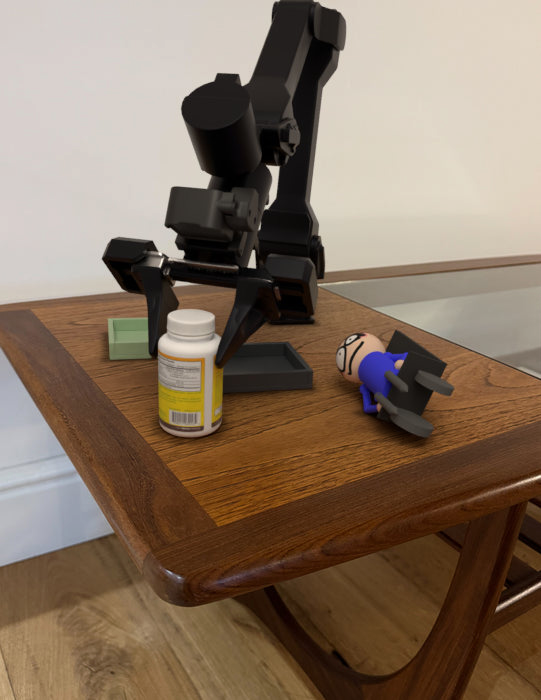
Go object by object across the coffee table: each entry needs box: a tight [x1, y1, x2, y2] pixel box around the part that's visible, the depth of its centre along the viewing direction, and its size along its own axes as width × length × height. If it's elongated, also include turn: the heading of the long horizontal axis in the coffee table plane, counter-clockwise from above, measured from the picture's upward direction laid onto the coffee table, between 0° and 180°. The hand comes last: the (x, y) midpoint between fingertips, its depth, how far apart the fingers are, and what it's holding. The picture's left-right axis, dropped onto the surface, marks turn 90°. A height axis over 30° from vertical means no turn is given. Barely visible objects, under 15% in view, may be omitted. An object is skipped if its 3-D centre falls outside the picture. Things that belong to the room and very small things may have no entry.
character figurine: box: [335, 329, 455, 438], centre depth 58 cm, size 8×7×15 cm
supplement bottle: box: [157, 308, 224, 438], centre depth 53 cm, size 6×6×10 cm
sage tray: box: [107, 316, 158, 361], centre depth 74 cm, size 11×9×2 cm
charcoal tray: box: [222, 341, 314, 394], centre depth 66 cm, size 11×9×2 cm
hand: (184, 361), depth 51 cm, fingers closed on supplement bottle, 5 cm apart
